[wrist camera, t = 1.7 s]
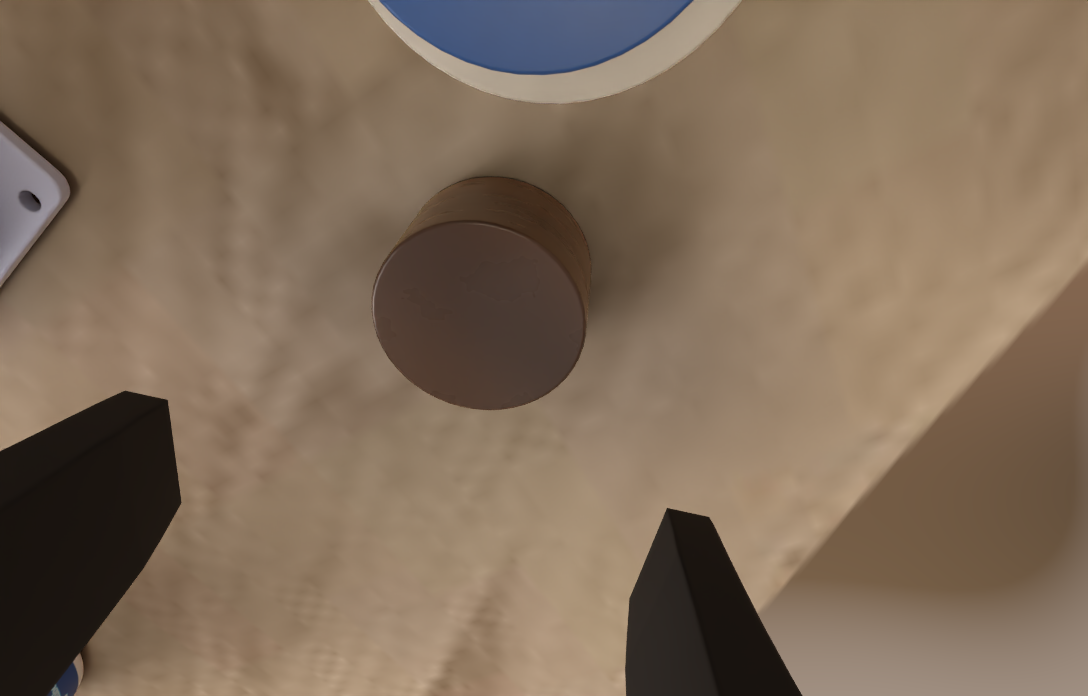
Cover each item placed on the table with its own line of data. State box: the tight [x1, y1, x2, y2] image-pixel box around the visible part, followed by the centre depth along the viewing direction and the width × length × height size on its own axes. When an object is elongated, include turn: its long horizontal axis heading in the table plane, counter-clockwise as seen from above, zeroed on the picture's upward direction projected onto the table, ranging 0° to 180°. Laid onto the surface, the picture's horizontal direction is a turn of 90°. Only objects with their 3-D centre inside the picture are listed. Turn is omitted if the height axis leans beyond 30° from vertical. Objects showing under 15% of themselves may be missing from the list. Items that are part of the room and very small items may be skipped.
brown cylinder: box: [372, 177, 591, 410], centre depth 16 cm, size 5×5×3 cm
